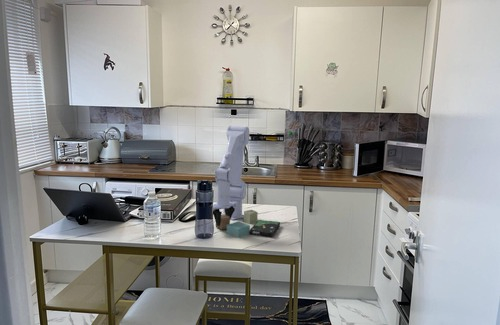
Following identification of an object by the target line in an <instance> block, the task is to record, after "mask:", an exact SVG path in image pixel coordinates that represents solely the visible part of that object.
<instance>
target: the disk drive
mask: <svg viewBox="0 0 500 325" xmlns="http://www.w3.org/2000/svg"><path fill="white" fill-rule="evenodd" d="M280 227H281V222H280V221H272V220H264V219H263V220H262V219H259V220H258V219H257V222H256V223H254V224H253V226H251V227H250V234H249V235H250V236H251V235H252V236H258V237H263V238H264V237H266V238H271V239H273V238H274V236H275V234H277V232H278V230H279V229H280Z"/></svg>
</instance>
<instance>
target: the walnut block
mask: <svg viewBox="0 0 500 325" xmlns="http://www.w3.org/2000/svg"><path fill="white" fill-rule="evenodd" d="M228 224H231V219H230V217H229V216H227V215H222V214H221V219H220V226H217V225H216V224H215V227H216V228H217V229H219V230H221V231H222V230H227V225H228Z"/></svg>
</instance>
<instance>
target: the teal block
mask: <svg viewBox="0 0 500 325" xmlns="http://www.w3.org/2000/svg"><path fill="white" fill-rule="evenodd" d="M250 229H251V226H250V224H248V223H244V222H241V221H240V220H239V221H235V222H232V223H231V222H230V224H228V225H227V229H226V234H227V235H230V236H233V237H235V238H237V239H238V238H241V237H242V238H243V237H244V236H247V235H250Z"/></svg>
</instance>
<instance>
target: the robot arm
mask: <svg viewBox="0 0 500 325" xmlns="http://www.w3.org/2000/svg"><path fill="white" fill-rule="evenodd" d="M226 138H227V141H228V142H227V148H226V153H224V154H222V157H221V161H220V163H219V167H218V168H216V170H215V172H214V179H215V184H216V203H214V204H212V205H213V213H212V215H213V218H214V221H215V226H216V225H217V226H220V219H221V215H227V216H229V217H230V220H232V221H235V220H238V219H244V214H243V200H244V199H245V198H246V196H247V184H246V182H245V181H244V180H243V179H242V175H243V164H244V154H245V147H246V146H247V145H249V141H250V128H249V127H248V126H239V125H238V126H237V125H235V126H233V125H228V127H227V128H226ZM220 210H222V211H220Z"/></svg>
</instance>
